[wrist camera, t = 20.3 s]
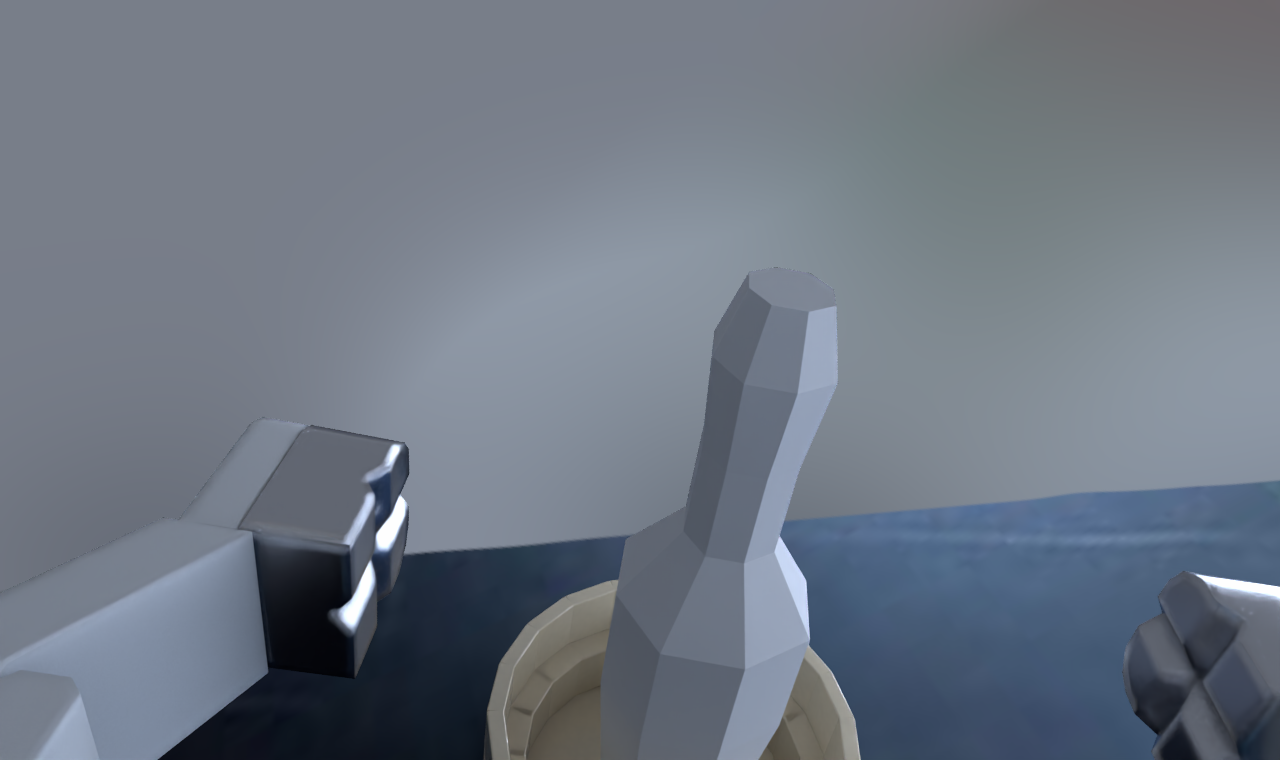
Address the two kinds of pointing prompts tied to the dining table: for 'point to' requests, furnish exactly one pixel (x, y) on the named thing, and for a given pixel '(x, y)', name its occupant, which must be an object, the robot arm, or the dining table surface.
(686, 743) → the faceted bottle
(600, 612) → the bowl
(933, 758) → the dining table surface
